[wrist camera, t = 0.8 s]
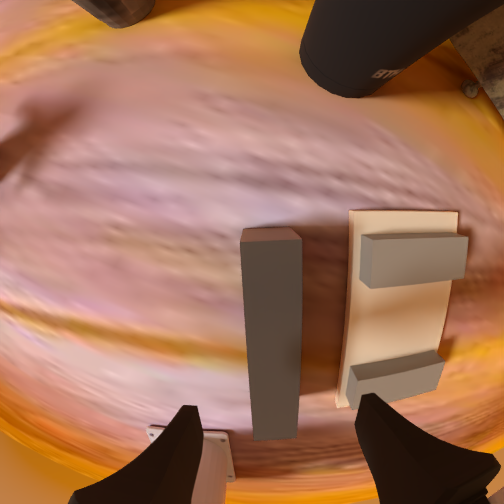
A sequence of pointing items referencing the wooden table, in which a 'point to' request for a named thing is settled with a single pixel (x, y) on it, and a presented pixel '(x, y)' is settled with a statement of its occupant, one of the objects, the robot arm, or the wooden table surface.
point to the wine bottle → (378, 38)
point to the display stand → (397, 302)
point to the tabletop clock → (484, 56)
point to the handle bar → (273, 328)
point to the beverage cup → (117, 10)
